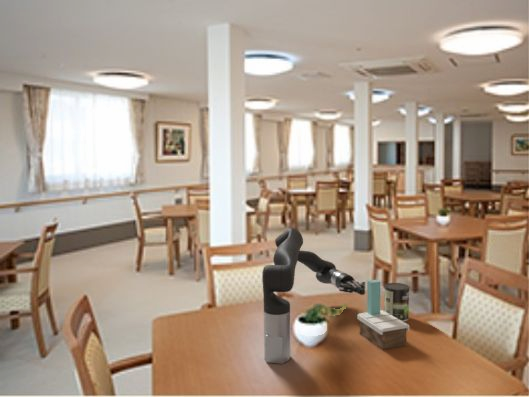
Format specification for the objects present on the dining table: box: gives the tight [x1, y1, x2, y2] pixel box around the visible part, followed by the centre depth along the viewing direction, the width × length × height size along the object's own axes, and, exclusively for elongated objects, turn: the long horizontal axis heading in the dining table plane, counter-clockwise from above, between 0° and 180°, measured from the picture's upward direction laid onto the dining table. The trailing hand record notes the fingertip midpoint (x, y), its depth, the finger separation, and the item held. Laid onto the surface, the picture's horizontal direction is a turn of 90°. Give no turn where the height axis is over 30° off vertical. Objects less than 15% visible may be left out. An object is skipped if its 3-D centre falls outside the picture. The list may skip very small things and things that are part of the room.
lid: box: [356, 279, 410, 335], centre depth 175 cm, size 17×12×15 cm
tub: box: [359, 320, 408, 351], centre depth 176 cm, size 16×10×7 cm, turn 19°
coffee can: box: [383, 282, 410, 323], centre depth 198 cm, size 10×10×14 cm
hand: (363, 292), depth 188 cm, fingers closed
